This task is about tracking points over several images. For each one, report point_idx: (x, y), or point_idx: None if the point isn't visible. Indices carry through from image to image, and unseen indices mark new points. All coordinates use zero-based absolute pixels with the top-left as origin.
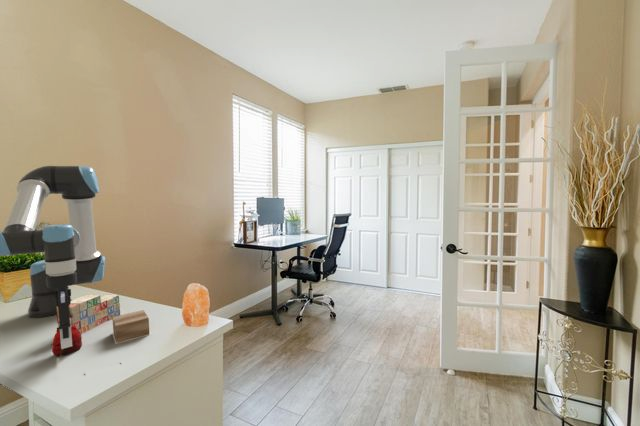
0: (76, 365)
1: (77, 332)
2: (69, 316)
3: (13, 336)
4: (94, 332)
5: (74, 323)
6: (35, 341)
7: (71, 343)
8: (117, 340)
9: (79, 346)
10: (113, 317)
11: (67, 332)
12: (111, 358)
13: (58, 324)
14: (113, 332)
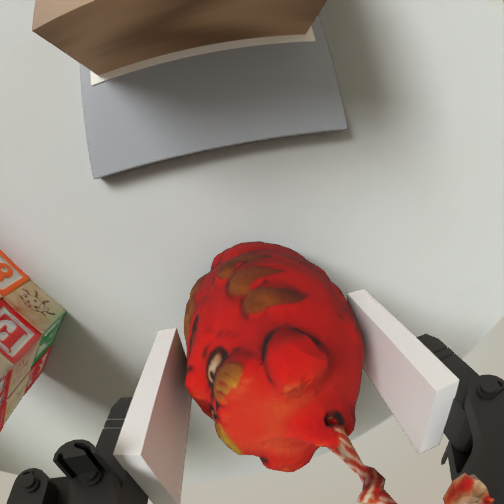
0: (438, 227)
1: (310, 300)
2: (492, 481)
3: (18, 465)
4: (8, 217)
5: (3, 351)
6: (53, 434)
7: (375, 301)
8: (309, 22)
9: (292, 250)
10: (53, 13)
11: (458, 364)
12: (445, 82)
13: (6, 418)
14: (100, 72)
